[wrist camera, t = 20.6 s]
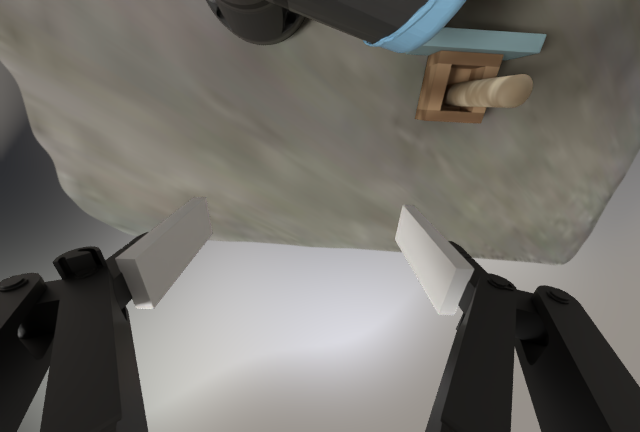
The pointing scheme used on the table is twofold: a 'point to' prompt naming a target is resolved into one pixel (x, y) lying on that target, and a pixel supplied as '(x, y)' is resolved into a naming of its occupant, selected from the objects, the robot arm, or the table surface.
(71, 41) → the table surface
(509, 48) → the wall
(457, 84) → the dowel
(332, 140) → the table surface
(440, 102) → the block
